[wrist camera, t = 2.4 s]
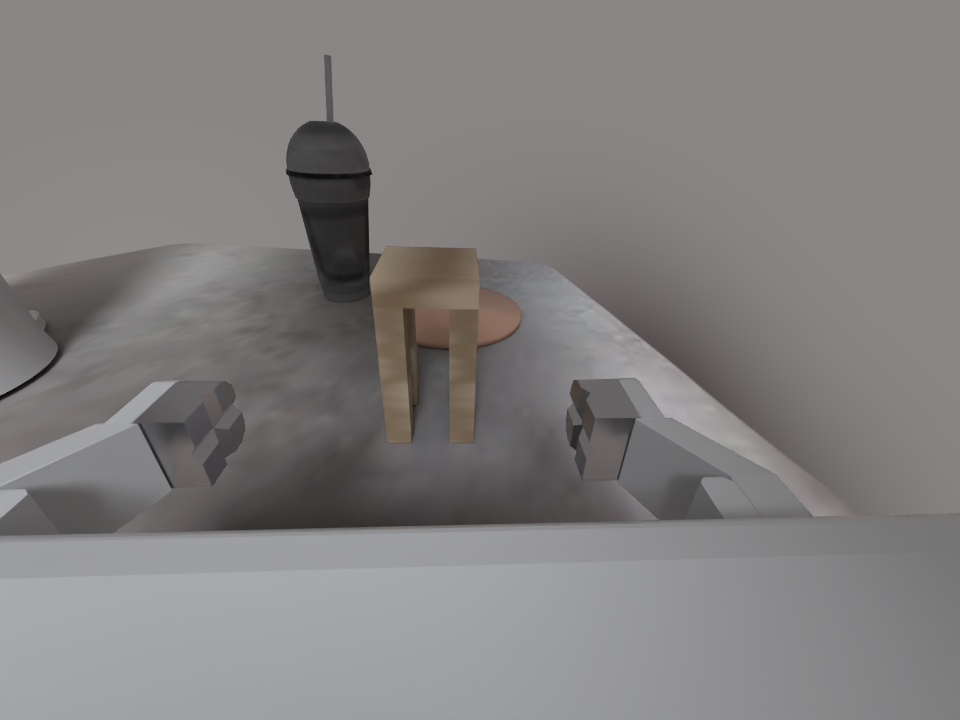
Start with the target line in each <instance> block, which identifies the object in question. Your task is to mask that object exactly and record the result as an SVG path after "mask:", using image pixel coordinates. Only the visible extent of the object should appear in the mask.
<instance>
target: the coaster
mask: <svg viewBox="0 0 960 720" xmlns="http://www.w3.org/2000/svg"><path fill="white" fill-rule="evenodd" d="M520 321H521V310H520V308H519V307H518V305H517V304H516V303H515V302H514V301H513V300H511V299H510V298H508V297H507V296H505V295H503V294H500V293H498V292H495V291H492V290H488V289H485V288H480V287H479V311H478V337H477V347H482V346H486V345H490V344H493V343H496V342H499V341H501V340H503V339H506V338H507V337H509V336H511V335H512V334H513V333H514V332H515V331H516V330H517V329H518V327H519V325H520ZM415 324H416V344H417V345H419V346H424V347H430V348H438V349H449V309H415Z"/></svg>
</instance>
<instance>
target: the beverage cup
mask: <svg viewBox="0 0 960 720" xmlns="http://www.w3.org/2000/svg"><path fill="white" fill-rule="evenodd" d="M324 60H325V84H326V85H325V86H326V110H327V122H326V121H309V122H307V123H305V124H303V125H302V126H301V127H299V128H298V129H297V131H296V132H295V133H294V134H293V136H292V138H291V140H290V142H289V145H288V149H287V158H286V159H287V160H286V162H287V169H286V174H287V175H289V179H290V183H291V186H292V189H293V192H294V194H295V196H296V198H297V199H298V202H299V206H300V210H301V214H302V217H303V221H304V225H305V229H306V232H307V236H308V240H309V243H310V247H311V251H312V255H313V259H314V262H315V266H316V270H317V273H318V277H319V281H320V283H321V286H322V289H323V291H324V296H325V298H327V299H328V300H331V301H336V302H350V301H356V300H360V299H363V298H364V297H366V296H367V295H368V294H369V279H370V272H369V223H368V222H369V221H368V219H369V218H368V198H369V194H370V175H372V172H371V169H370V168H369V162H368V159H367V155H366V153H365V150H364V148H363V146H362V144H361V143H360V141H359V140H358V139H357V137H356V136H355V135H354V134H353V133H352V132H351V131H350V130H349V129H347V128H346V127H345V126H343V125H341V124H339V123H337V122H333V99H332V73H331V56H329V55H324Z"/></svg>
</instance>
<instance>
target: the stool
mask: <svg viewBox="0 0 960 720" xmlns="http://www.w3.org/2000/svg"><path fill="white" fill-rule="evenodd" d="M479 285H480V278H479V270H478V261H477V254H476V249H472V248H431V247H430V248H429V247H391V246H387V247H386V248H385V250H384V252H383V253H382V255H381V257H380V259H379V261H378V263H377V264H376V266H375V268H374V270H373V272H372V274H371V276H370V287H371V296H372V305H373V315H374V324H375V333H376V343H377V352H378V361H379V370H380V380H381V389H382V398H383V408H384V417H385V426H386V436H387V443H412V437H413V430H414V420H413V405H417V402H418V395H419V384H418V364H417V344H416V324H415V309H449V443H473V440H474V414H475V389H476V363H477V337H478V311H479Z"/></svg>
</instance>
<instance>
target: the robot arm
mask: <svg viewBox="0 0 960 720" xmlns="http://www.w3.org/2000/svg"><path fill="white" fill-rule="evenodd" d="M45 327H46V321H45V320H44V318H43V317H42V316H41V315H40V313H39V312H38V311H35V310H27V309H26V307H25V306H24V305H23V303H22V302H21V301H20V299H19V298H18V297H17V295H16V294H15V293H14V291H13V290H12V289H11V287H10V286H9V285H8V283H7V282H6V281H5V279H4V278H3V277H2V275H1V274H0V395H2V394H4V393H6V392H8V391H10V390H12V389H14V388H15V387H17V386H19V385H21V384H22V383H24V382H26V381H27V380H29V379H30V378H32V377H33V376H35V375H36V374H37V373H39V372H40V371H41V370H43V369H44V368H45V367H46V366H47V365H48V364H49V363H50V362H51V361H52V360H53V358H54V357H55V355H56V353H57V350H58V347H57V343H56V342H55V341H54V340H53V339H52V338H51V337H50V336H49V335H48V334H47V333H46V332H45V331H44V329H45ZM570 395H571V398H572V400H573V404H572V405H571V406H570V407H569V408H568V410H567V418H566V431H567V437H568V441H569V444H570V446H571V447H572V448H574V449H575V450H576V455H575V461H576V464H577V467H578V470H579V473H580V476H581V479H582V480H618V483H619V484H620V485H622V486H623V487H624V488H625V489H626V490H627V491H628V492H629V493H630V494H631V495H632V496H634V497H635V498H636V499H637V500H638V501H639V502H640V503H641V504H642V505H643V506H644V507H646V508H647V509H648V510H649V511H650V512H651V513H652V514H653V515H654V516H655V517H656V518H657V519H659V520H651V521H612V522H574V523H528V524H482V525H437V526H394V527H353V528H312V529H272V530H229V531H186V532H142V533H114V532H115V531H117V530H118V529H120V528H121V527H122V526H124V525H125V524H126V523H128V522H129V521H131V520H132V519H133V518H135V517H136V516H137V515H139V514H140V513H142V512H143V511H144V510H146V509H147V508H148V507H150V506H151V505H153V504H154V503H155V502H157V501H158V500H159V499H161V498H162V497H164V496H165V495H166V494H168V493H169V492H170V491H172V488H195V487H212V486H213V485H214V483H215V482H216V480H217V479H218V478H219V476H220V475H221V473H222V472H223V470H224V469H225V467H226V466H227V462H226V459H225V457H227V456H229V455H230V454H232V453H233V452H235V451H237V449H238V448H239V446H240V444H241V443H242V441H243V437H244V432H245V421H244V417H243V414H242V412H241V411H240V410H239V409H238V408H236V407H235V406H234V405H233V402H234V400H235V398H236V394H235V392H234V389H233V387H232V385H231V384H229V383H228V382H226V381H179V380H176V381H157V382H153V383H152V384H150V385H149V386H148V387H147V388H146V389H144V390H143V391H142V392H141V393H140V394H139V395H137V396H136V397H135V398H134V399H133V400H132V401H130V402H129V403H128V404H127V405H126V406H124V407H123V408H122V409H121V410H120V411H119V412H117V413H116V414H115V415H114V416H113V417H112V418H110V419H109V420H108V421H107V422H106V423H104V424H95V425H93V426H90V427H88V428H86V429H83V430H81V431H78V432H76V433H74V434H71V435H69V436H66V437H64V438H61V439H59V440H57V441H54V442H52V443H49V444H47V445H45V446H42V447H40V448H37V449H35V450H33V451H30V452H28V453H25V454H23V455H20V456H18V457H16V458H13V459H11V460H8V461H6V462H4V463H1V464H0V720H960V513H949V514H912V515H911V514H908V515H867V516H823V517H813V516H812V514H811V513H810V512H809V511H808V510H807V509H806V508H805V507H804V505H803V504H802V503H801V502H800V501H799V500H798V499H797V498H796V496H795V495H794V494H793V493H792V492H791V491H790V490H789V489H788V487H787V486H786V485H785V484H784V483H783V482H782V481H781V480H780V478H779V477H778V476H777V475H776V474H774V473H772V472H770V471H768V470H766V469H765V468H763V467H761V466H759V465H757V464H755V463H754V462H752V461H750V460H748V459H746V458H744V457H742V456H741V455H739V454H737V453H735V452H733V451H731V450H729V449H728V448H726V447H724V446H722V445H720V444H718V443H717V442H715V441H713V440H711V439H709V438H707V437H705V436H704V435H702V434H700V433H698V432H696V431H694V430H692V429H691V428H689V427H687V426H685V425H683V424H681V423H680V422H678V421H676V420H674V419H672V418H665V417H664V416H663V414H662V413H661V411H660V410H659V409H658V407H657V406H656V404H655V403H654V402H653V400H652V399H651V397H650V396H649V394H648V393H647V392H646V390H645V389H644V387H643V386H642V384H641V383H640V382H639V380H637V379H635V378H622V379H597V380H574V381H573V384H572V387H571V392H570Z"/></svg>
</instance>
